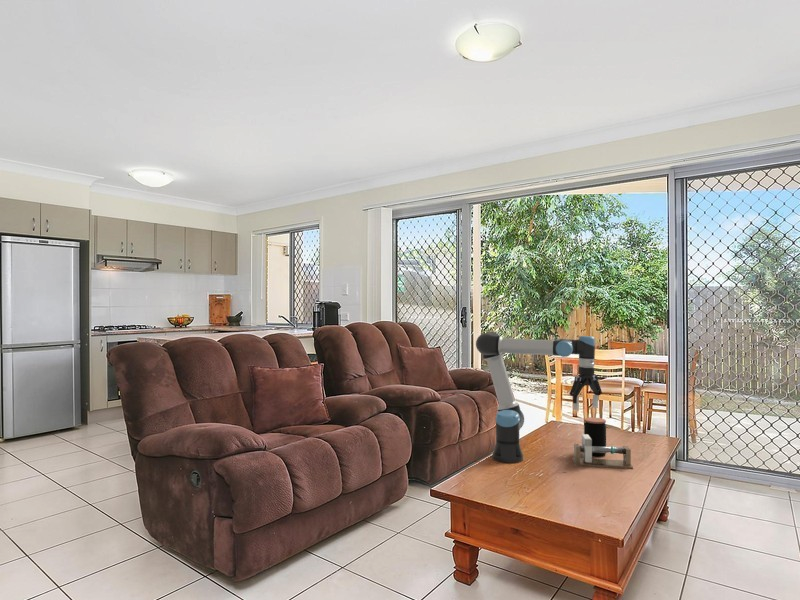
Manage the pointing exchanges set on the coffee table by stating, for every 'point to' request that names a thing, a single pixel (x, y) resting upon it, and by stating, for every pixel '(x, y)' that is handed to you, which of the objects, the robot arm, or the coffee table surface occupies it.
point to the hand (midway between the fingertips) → (585, 408)
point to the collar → (587, 448)
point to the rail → (604, 462)
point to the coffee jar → (596, 432)
